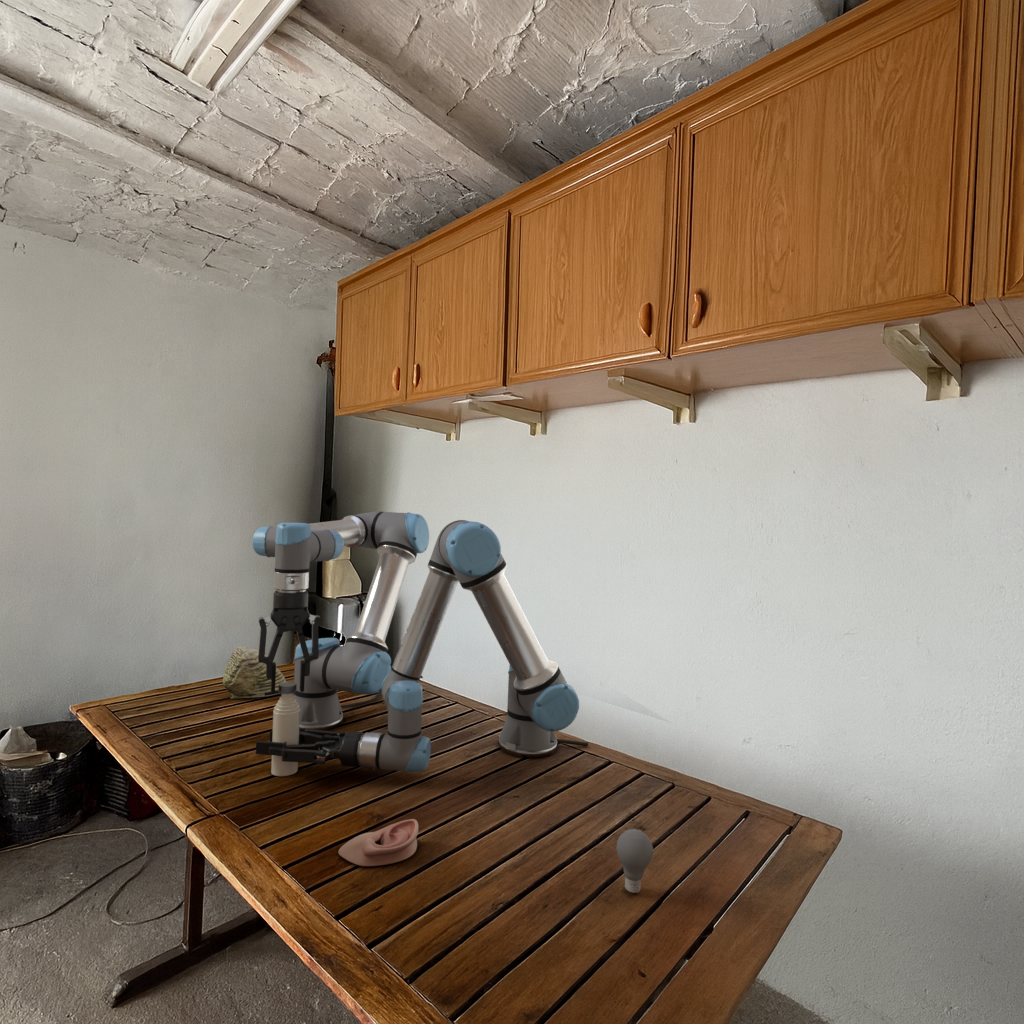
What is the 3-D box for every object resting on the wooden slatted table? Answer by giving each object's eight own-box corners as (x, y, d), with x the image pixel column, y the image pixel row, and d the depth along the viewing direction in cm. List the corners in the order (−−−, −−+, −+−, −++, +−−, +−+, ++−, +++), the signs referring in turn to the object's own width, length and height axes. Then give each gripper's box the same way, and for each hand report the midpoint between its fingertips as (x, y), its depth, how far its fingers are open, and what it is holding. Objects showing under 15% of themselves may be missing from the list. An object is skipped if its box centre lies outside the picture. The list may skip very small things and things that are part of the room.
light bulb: (610, 879, 108) (613, 822, 108) (644, 879, 109) (647, 822, 109) (619, 902, 102) (622, 840, 102) (655, 901, 103) (658, 840, 103)
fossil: (218, 695, 195) (220, 647, 195) (278, 685, 208) (279, 640, 207) (228, 703, 189) (230, 653, 188) (289, 692, 201) (290, 645, 201)
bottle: (300, 765, 149) (304, 683, 148) (293, 776, 143) (296, 690, 142) (275, 765, 148) (278, 682, 148) (267, 776, 142) (270, 689, 142)
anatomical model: (330, 838, 110) (359, 807, 121) (329, 861, 110) (358, 828, 121) (402, 850, 107) (425, 817, 119) (401, 873, 108) (424, 838, 119)
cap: (278, 689, 146) (278, 682, 146) (295, 688, 148) (296, 681, 148) (278, 694, 143) (278, 687, 143) (297, 693, 144) (297, 685, 144)
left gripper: (247, 593, 137) (243, 699, 138) (335, 592, 145) (331, 692, 145) (246, 588, 144) (243, 689, 145) (330, 587, 152) (327, 683, 152)
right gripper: (346, 784, 134) (242, 775, 136) (373, 749, 153) (281, 742, 155) (347, 749, 134) (243, 741, 136) (375, 719, 153) (282, 712, 155)
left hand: (287, 690), depth 145 cm, fingers open, 6 cm apart
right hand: (264, 741), depth 146 cm, fingers closed on bottle, 6 cm apart
